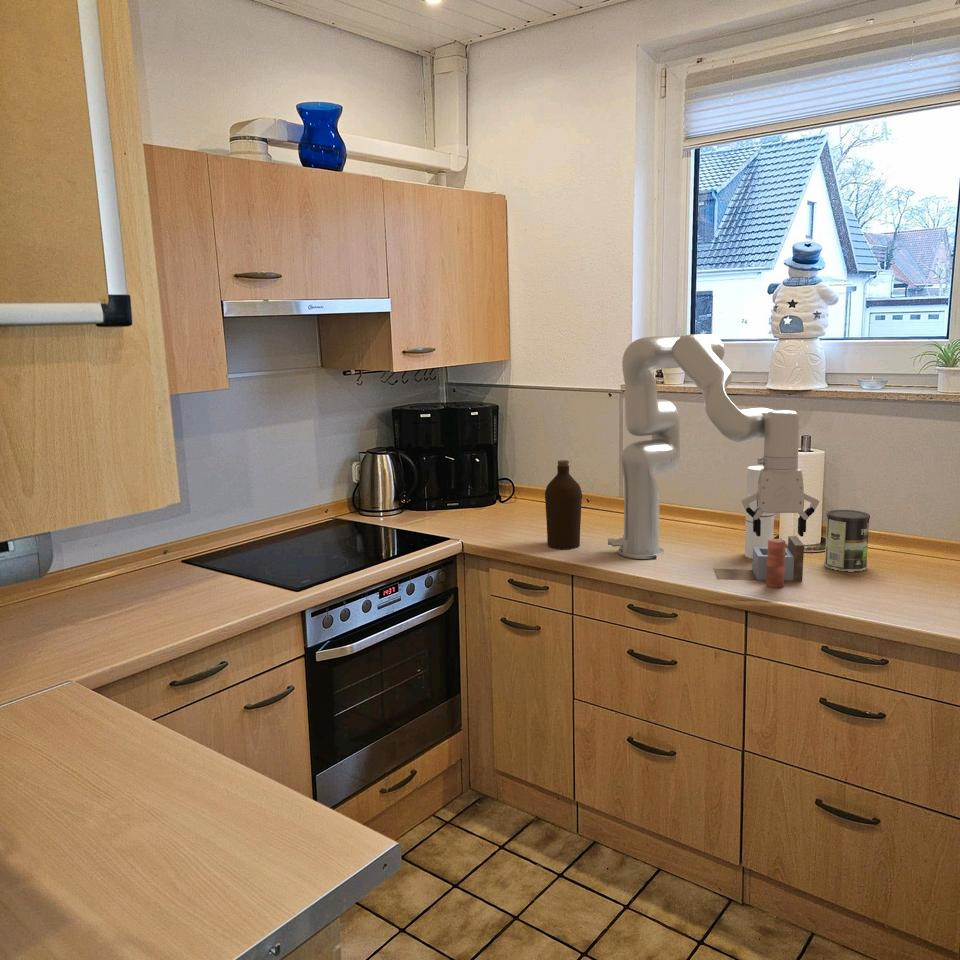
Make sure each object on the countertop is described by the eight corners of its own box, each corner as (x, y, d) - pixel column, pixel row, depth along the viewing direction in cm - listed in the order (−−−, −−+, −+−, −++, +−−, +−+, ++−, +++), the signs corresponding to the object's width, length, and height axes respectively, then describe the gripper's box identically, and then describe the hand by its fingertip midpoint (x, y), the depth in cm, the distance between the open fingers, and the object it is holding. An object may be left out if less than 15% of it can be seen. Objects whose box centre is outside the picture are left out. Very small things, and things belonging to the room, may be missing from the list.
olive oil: (563, 552, 240) (563, 465, 236) (537, 545, 248) (536, 461, 244) (589, 545, 247) (589, 460, 242) (563, 539, 255) (563, 456, 250)
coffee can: (869, 564, 222) (872, 511, 220) (863, 574, 214) (866, 519, 211) (827, 559, 228) (830, 507, 225) (820, 569, 219) (823, 515, 216)
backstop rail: (717, 583, 209) (718, 543, 208) (713, 572, 218) (714, 534, 216) (802, 585, 206) (804, 545, 204) (794, 574, 215) (796, 536, 213)
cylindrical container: (773, 563, 225) (777, 470, 220) (745, 562, 226) (748, 470, 222) (770, 556, 232) (773, 465, 227) (743, 555, 233) (746, 465, 229)
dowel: (767, 592, 202) (769, 543, 200) (764, 586, 206) (766, 538, 203) (785, 592, 201) (787, 543, 199) (782, 587, 205) (784, 539, 203)
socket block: (757, 579, 208) (758, 556, 207) (752, 569, 216) (752, 547, 215) (793, 580, 206) (794, 557, 205) (787, 570, 215) (788, 547, 214)
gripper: (744, 466, 195) (743, 538, 198) (823, 465, 192) (821, 539, 195) (740, 461, 203) (739, 531, 206) (816, 460, 200) (814, 531, 203)
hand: (779, 535), depth 200 cm, fingers open, 9 cm apart
